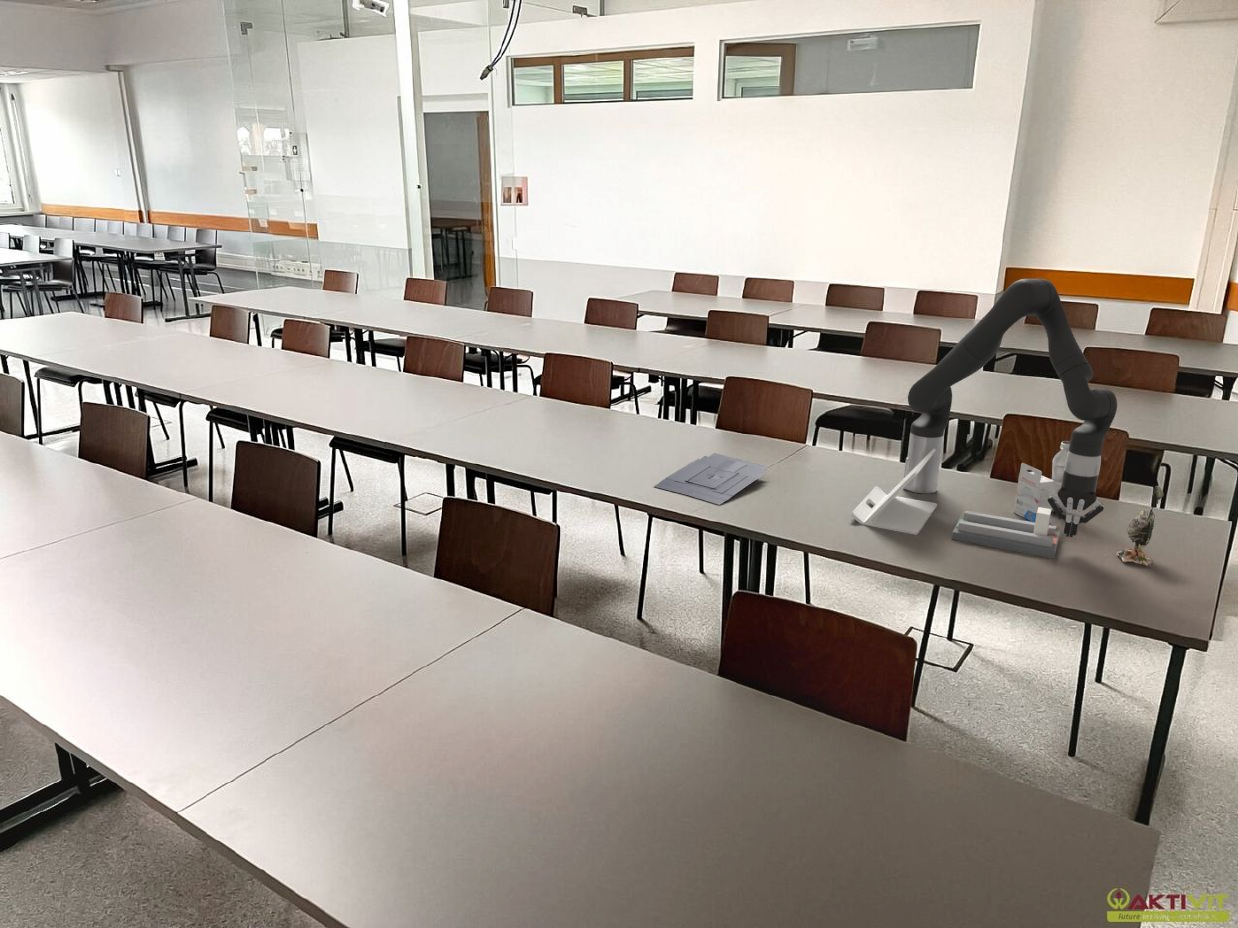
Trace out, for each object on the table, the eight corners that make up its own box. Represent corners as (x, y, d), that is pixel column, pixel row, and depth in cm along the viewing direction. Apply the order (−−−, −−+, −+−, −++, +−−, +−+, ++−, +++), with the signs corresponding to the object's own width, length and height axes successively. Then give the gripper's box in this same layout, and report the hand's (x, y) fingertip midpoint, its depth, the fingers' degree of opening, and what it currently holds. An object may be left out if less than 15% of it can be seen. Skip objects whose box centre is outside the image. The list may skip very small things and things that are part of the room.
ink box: (1049, 521, 236) (1057, 470, 231) (1033, 523, 234) (1041, 471, 230) (1027, 510, 243) (1035, 460, 239) (1012, 512, 242) (1020, 462, 238)
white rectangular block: (1032, 538, 219) (1036, 512, 217) (1034, 532, 222) (1038, 507, 220) (1045, 540, 217) (1050, 514, 215) (1047, 534, 221) (1051, 509, 219)
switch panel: (951, 539, 224) (953, 524, 223) (961, 521, 236) (962, 507, 235) (1054, 558, 213) (1056, 543, 212) (1058, 538, 224) (1061, 524, 223)
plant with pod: (1156, 554, 215) (1172, 478, 209) (1149, 570, 207) (1166, 491, 200) (1119, 546, 220) (1134, 472, 213) (1111, 561, 211) (1126, 484, 205)
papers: (775, 475, 268) (775, 464, 267) (720, 513, 248) (720, 502, 246) (709, 459, 283) (709, 449, 282) (653, 494, 263) (652, 483, 261)
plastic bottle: (1047, 505, 247) (1058, 438, 241) (1073, 511, 243) (1085, 442, 237) (1040, 511, 242) (1052, 443, 236) (1067, 517, 238) (1079, 448, 232)
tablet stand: (937, 506, 247) (944, 449, 242) (917, 535, 227) (925, 474, 222) (873, 494, 256) (878, 439, 251) (849, 522, 236) (854, 462, 230)
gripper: (1050, 470, 211) (1039, 535, 217) (1112, 479, 205) (1098, 546, 210) (1052, 461, 217) (1041, 525, 223) (1112, 470, 211) (1100, 536, 217)
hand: (1069, 535), depth 216 cm, fingers closed
